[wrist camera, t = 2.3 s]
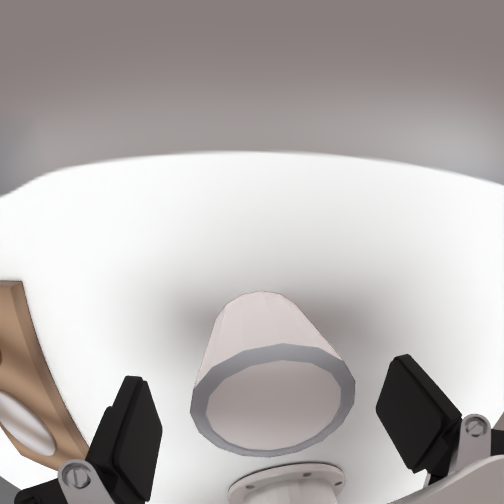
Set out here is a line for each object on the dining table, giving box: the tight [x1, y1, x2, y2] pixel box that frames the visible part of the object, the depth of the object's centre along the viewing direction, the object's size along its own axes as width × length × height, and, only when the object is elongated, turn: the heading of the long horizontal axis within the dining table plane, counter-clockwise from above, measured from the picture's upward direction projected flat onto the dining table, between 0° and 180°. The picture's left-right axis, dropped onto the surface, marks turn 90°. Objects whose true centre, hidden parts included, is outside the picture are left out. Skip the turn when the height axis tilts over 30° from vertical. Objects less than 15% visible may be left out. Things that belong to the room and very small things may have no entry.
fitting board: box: [0, 281, 89, 471], centre depth 14 cm, size 24×14×5 cm, turn 1°
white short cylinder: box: [190, 291, 355, 457], centre depth 13 cm, size 7×7×7 cm
